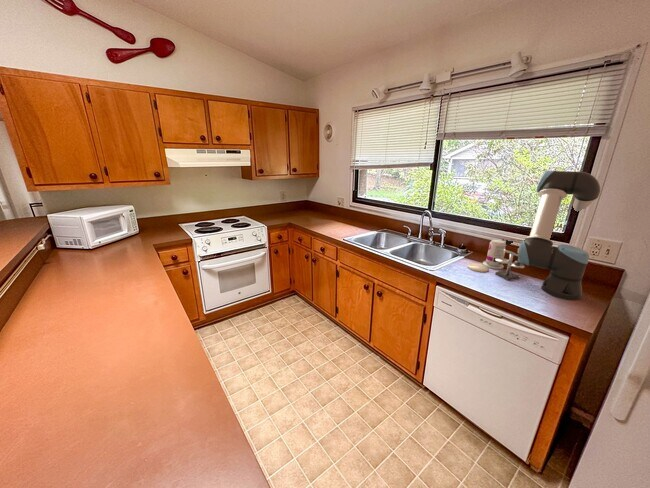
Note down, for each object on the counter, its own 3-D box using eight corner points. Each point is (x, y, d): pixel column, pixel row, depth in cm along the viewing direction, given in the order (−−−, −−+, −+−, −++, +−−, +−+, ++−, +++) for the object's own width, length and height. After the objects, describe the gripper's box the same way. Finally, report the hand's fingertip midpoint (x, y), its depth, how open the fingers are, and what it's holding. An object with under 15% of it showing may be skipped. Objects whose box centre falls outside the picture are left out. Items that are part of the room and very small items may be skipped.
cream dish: (492, 270, 158) (493, 269, 157) (478, 273, 154) (478, 271, 154) (477, 263, 168) (477, 262, 167) (463, 266, 164) (463, 264, 164)
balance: (525, 277, 149) (533, 248, 144) (500, 282, 144) (507, 252, 138) (512, 271, 157) (518, 244, 151) (487, 276, 151) (493, 247, 146)
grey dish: (507, 268, 161) (508, 266, 161) (493, 270, 158) (494, 269, 158) (491, 261, 171) (492, 260, 171) (478, 263, 168) (478, 262, 168)
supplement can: (484, 264, 164) (488, 241, 159) (487, 260, 170) (492, 238, 165) (499, 268, 159) (504, 244, 154) (502, 264, 164) (507, 241, 160)
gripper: (551, 255, 160) (526, 260, 154) (512, 243, 183) (488, 246, 176) (555, 243, 158) (529, 247, 151) (514, 232, 180) (490, 235, 174)
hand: (507, 247), depth 164 cm, fingers open, 13 cm apart
